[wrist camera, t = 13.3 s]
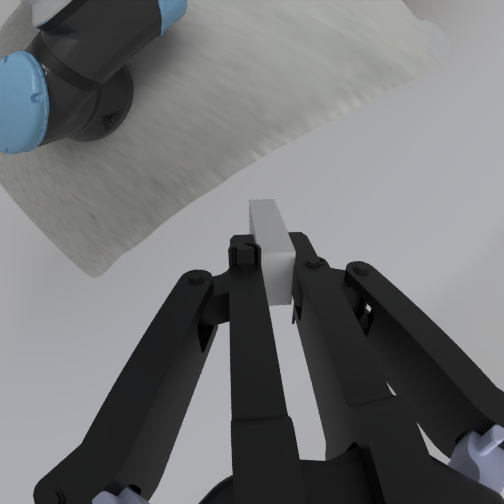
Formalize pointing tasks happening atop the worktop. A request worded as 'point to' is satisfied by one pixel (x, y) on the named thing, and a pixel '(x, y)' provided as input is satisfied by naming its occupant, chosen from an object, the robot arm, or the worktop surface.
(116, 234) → the worktop surface
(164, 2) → the robot arm
